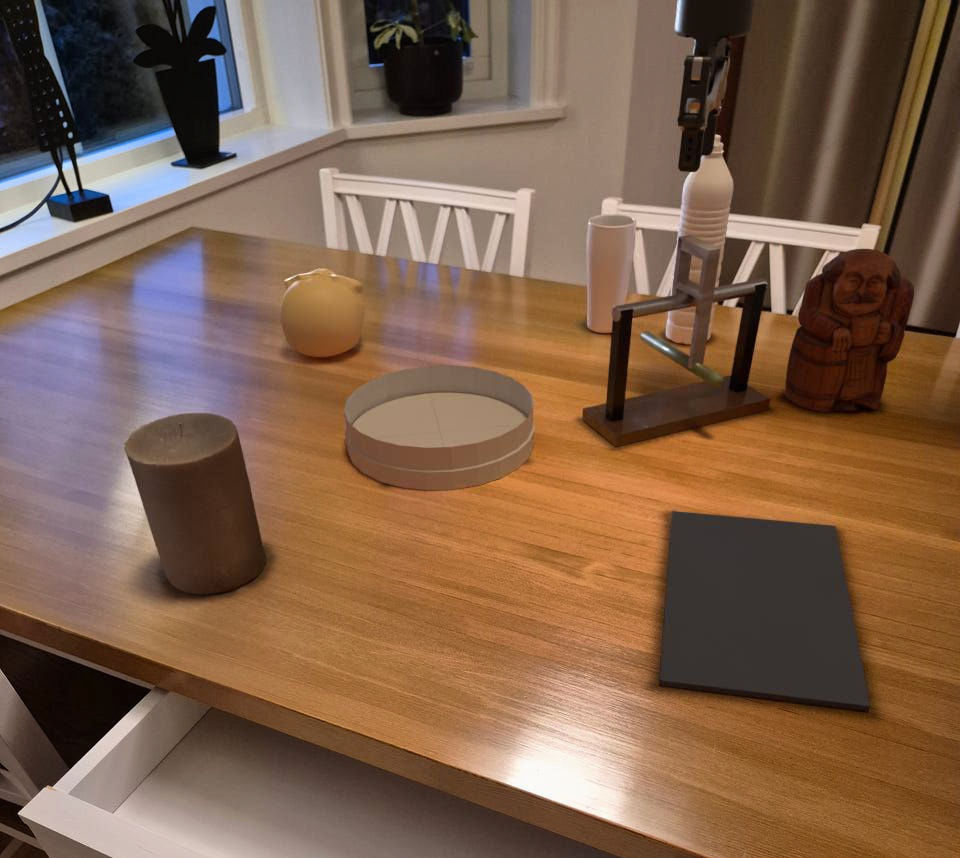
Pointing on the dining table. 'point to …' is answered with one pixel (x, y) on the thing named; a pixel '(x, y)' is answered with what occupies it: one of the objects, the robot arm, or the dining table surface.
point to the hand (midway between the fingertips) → (695, 162)
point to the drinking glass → (608, 267)
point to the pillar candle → (197, 501)
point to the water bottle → (702, 229)
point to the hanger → (703, 308)
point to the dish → (439, 427)
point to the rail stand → (684, 403)
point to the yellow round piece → (322, 313)
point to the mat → (760, 612)
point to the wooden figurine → (848, 332)
